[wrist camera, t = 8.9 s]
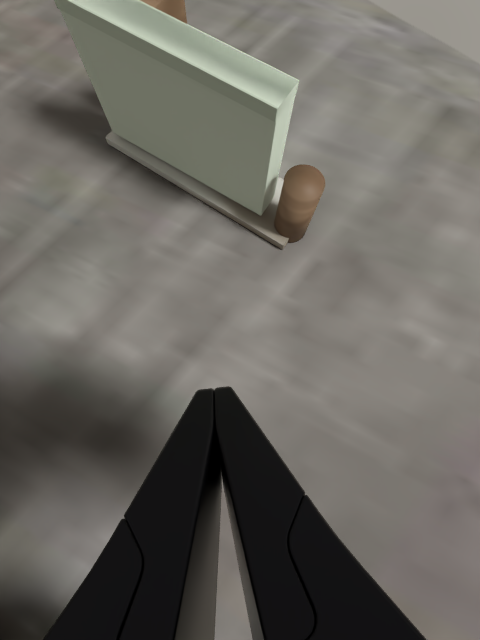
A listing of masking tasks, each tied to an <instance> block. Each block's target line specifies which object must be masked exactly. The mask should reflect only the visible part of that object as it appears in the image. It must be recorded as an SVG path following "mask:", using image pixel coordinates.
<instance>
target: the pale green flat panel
mask: <svg viewBox="0 0 480 640" xmlns="http://www.w3.org/2000/svg"><path fill="white" fill-rule="evenodd" d="M54 1H55V3H56V6H57V8H58V9H60V11H61V13H62V16H63V18H64V20H65V22H66V25H67V27H68V29H69V32H70V34H71V36H72V39H73V41H74V43H75V46H76V48H77V50H78V53H79V55H80V57H81V60H82V62H83V64H84V67H85V69H86V71H87V73H88V76H89V78H90V80H91V83H92V85H93V87H94V90H95V92H96V94H97V97H98V99H99V101H100V104H101V106H102V108H103V111H104V113H105V115H106V118H107V120H108V122H109V124H110V127H111V129H112V131H113V133H115V134H117V135H119V136H121V137H122V138H124V139H126V140H128V141H129V142H131V143H133V144H135V145H136V146H138V147H140V148H142V149H144V150H145V151H147V152H149V153H151V154H152V155H154V156H156V157H158V158H159V159H161V160H163V161H165V162H166V163H168V164H170V165H172V166H174V167H175V168H177V169H179V170H181V171H182V172H184V173H186V174H188V175H189V176H191V177H193V178H195V179H197V180H198V181H200V182H202V183H204V184H205V185H207V186H209V187H211V188H212V189H214V190H216V191H218V192H220V193H221V194H223V195H225V196H227V197H228V198H230V199H232V200H234V201H235V202H237V203H239V204H241V205H242V206H244V207H246V208H248V209H250V210H251V211H253V212H255V213H257V214H258V215H260V216H261V215H262V214H263V212H264V211H265V210H266V208H267V207H268V205H269V204H270V202H271V201H272V200H273V198H274V195H275V190H276V185H277V181H278V176H279V171H280V166H281V161H282V157H283V152H284V147H285V142H286V137H287V133H288V128H289V123H290V118H291V113H292V109H293V104H294V99H295V95H296V93H297V88H298V83H299V80H298V79H296V78H294V77H292V76H290V75H288V74H286V73H284V72H282V71H280V70H278V69H276V68H274V67H272V66H270V65H268V64H266V63H264V62H262V61H260V60H258V59H256V58H254V57H252V56H250V55H248V54H246V53H244V52H242V51H240V50H238V49H236V48H234V47H232V46H230V45H228V44H226V43H224V42H222V41H220V40H218V39H216V38H214V37H212V36H210V35H208V34H206V33H204V32H202V31H200V30H198V29H196V28H194V27H192V26H190V25H188V24H186V23H184V22H182V21H180V20H178V19H176V18H174V17H172V16H170V15H168V14H166V13H164V12H162V11H160V10H158V9H156V8H154V7H152V6H150V5H148V4H146V3H144V2H142V1H140V0H54Z"/></svg>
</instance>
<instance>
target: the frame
mask: <svg viewBox="0 0 480 640" xmlns="http://www.w3.org/2000/svg"><path fill="white" fill-rule="evenodd" d="M140 1H142V2H144V3H146V4H148V5H150V6H152V7H154V8H156V9H158V10H160V11H162V12H164V13H166V14H168V15H170V16H172V17H174V18H176V19H178V20H180V21H182V22H184V23H186V24H187V20H186V11H185V2H184V0H140ZM105 138H106V141H107V143H108V144H109V145H111V146H113V147H114V148H116V149H118V150H119V151H121V152H122V153H124V154H126V155H127V156H129V157H131V158H132V159H134V160H136V161H137V162H139V163H141V164H142V165H144V166H145V167H147V168H149V169H150V170H152V171H154V172H155V173H157V174H159V175H160V176H162V177H164V178H165V179H167V180H168V181H170V182H172V183H173V184H175V185H177V186H178V187H180V188H182V189H183V190H185V191H187V192H188V193H190V194H191V195H193V196H195V197H196V198H198V199H200V200H201V201H203V202H205V203H206V204H208V205H210V206H211V207H213V208H214V209H216V210H218V211H219V212H221V213H223V214H224V215H226V216H228V217H229V218H231V219H233V220H234V221H236V222H237V223H239V224H241V225H242V226H244V227H246V228H247V229H249V230H251V231H252V232H254V233H256V234H257V235H259V236H260V237H262V238H264V239H265V240H267V241H269V242H270V243H272V244H274V245H275V246H277V247H279V248H280V249H282V250H283V248H284V247H285V245H286V244H287V242H288V243H293V242H297V241H299V240H300V239H301V238H302V237H303V236H304V234H305V232H306V230H307V227H308V225H309V223H310V221H311V218H312V216H313V214H314V211H315V209H316V207H317V204H318V202H319V200H320V197H321V195H322V193H323V190H324V188H325V179H324V177H323V175H322V173H321V172H320V171H319V170H318V169H316V168H315V167H313V166H310V165H297V166H294V167H292V168H291V169H289V170H288V171H287V173H286V175H285V178H284V180H283V179H281V178H279V177H278V181H277V185H276V190H275V195H274V198H273V200H272V201H271V202H270V204H269V205H268V207H267V208H266V210H265V211H264V212H263V214H262V215H261V216H260V215H258V214H257V213H255V212H253V211H251V210H250V209H248V208H246V207H244V206H242V205H241V204H239V203H237V202H235V201H234V200H232V199H230V198H228V197H227V196H225V195H223V194H221V193H220V192H218V191H216V190H214V189H212V188H211V187H209V186H207V185H205V184H204V183H202V182H200V181H198V180H197V179H195V178H193V177H191V176H189V175H188V174H186V173H184V172H182V171H181V170H179V169H177V168H175V167H174V166H172V165H170V164H168V163H166V162H165V161H163V160H161V159H159V158H158V157H156V156H154V155H152V154H151V153H149V152H147V151H145V150H144V149H142V148H140V147H138V146H136V145H135V144H133V143H131V142H129V141H128V140H126V139H124V138H122V137H121V136H119V135H117V134H115V133H113V131H111V132H110V133H109V134H108V135H107V136H106V137H105Z"/></svg>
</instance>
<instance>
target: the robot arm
mask: <svg viewBox="0 0 480 640" xmlns="http://www.w3.org/2000/svg"><path fill="white" fill-rule="evenodd" d="M221 472H222V473H221ZM222 479H223V486H224V492H225V497H226V502H227V507H228V513H229V518H230V523H231V528H232V533H233V539H234V544H235V549H236V554H237V560H238V565H239V570H240V575H241V581H242V586H243V591H244V596H245V602H246V607H247V612H248V617H249V622H250V628H251V633H252V638H253V640H426V638H425V637H424V636H423V635H422V634H421V633H420V632H419V630H418V629H417V628H416V627H415V626H414V625H413V624H412V622H411V621H410V620H409V619H408V618H407V617H406V616H405V614H404V613H403V612H402V611H401V610H400V609H399V608H398V606H397V605H396V604H395V603H394V602H393V601H392V600H391V598H390V597H389V596H388V595H387V594H386V593H385V592H384V590H383V589H382V588H381V587H380V586H379V585H378V584H377V582H376V581H375V580H374V579H373V578H372V577H371V576H370V574H369V573H368V572H367V571H366V570H365V569H364V568H363V566H362V565H361V564H360V563H359V562H358V561H357V559H356V558H355V557H354V556H353V555H352V553H351V552H350V551H349V550H348V549H347V547H346V546H345V545H344V544H343V543H342V541H341V540H340V539H339V538H338V536H337V535H336V534H335V532H334V531H333V530H332V528H331V527H330V526H329V524H328V523H327V522H326V520H325V519H324V518H323V516H322V515H321V514H320V512H319V511H318V510H317V508H316V507H315V505H314V504H313V502H312V501H311V500H310V498H309V497H308V496H307V495H305V491H304V490H303V489H302V487H301V486H300V484H299V483H298V481H297V480H296V479H295V477H294V476H293V474H292V473H291V471H290V470H289V469H288V467H287V466H286V464H285V463H284V461H283V460H282V459H281V457H280V456H279V454H278V453H277V451H276V450H275V449H274V447H273V446H272V444H271V443H270V442H269V440H268V439H267V437H266V436H265V434H264V433H263V432H262V430H261V429H260V427H259V426H258V424H257V423H256V422H255V420H254V419H253V417H252V416H251V414H250V413H249V412H248V410H247V409H246V407H245V406H244V404H243V403H242V402H241V400H240V399H239V397H238V396H237V394H236V393H235V392H234V390H233V389H232V388H231V387H219V388H216V389H215V390H213V389H212V388H210V389H201V390H198V391H197V392H196V393H195V395H194V396H193V398H192V400H191V402H190V403H189V405H188V407H187V408H186V410H185V412H184V414H183V415H182V417H181V419H180V420H179V422H178V424H177V426H176V427H175V429H174V431H173V432H172V434H171V436H170V438H169V439H168V441H167V443H166V444H165V446H164V448H163V449H162V451H161V453H160V455H159V456H158V458H157V460H156V461H155V463H154V465H153V467H152V468H151V470H150V472H149V473H148V475H147V477H146V479H145V480H144V482H143V484H142V485H141V487H140V489H139V491H138V492H137V494H136V496H135V497H134V499H133V501H132V503H131V504H130V506H129V508H128V509H127V511H126V513H125V515H124V518H125V519H122V520H121V521H120V523H119V524H118V526H117V528H116V530H115V531H114V533H113V535H112V537H111V538H110V540H109V542H108V543H107V545H106V546H105V548H104V550H103V551H102V553H101V554H100V556H99V558H98V559H97V561H96V563H95V564H94V566H93V567H92V569H91V571H90V572H89V574H88V575H87V577H86V578H85V579H84V581H83V582H82V584H81V585H80V587H79V588H78V590H77V591H76V593H75V594H74V596H73V597H72V599H71V600H70V602H69V603H68V604H67V606H66V607H65V609H64V610H63V612H62V613H61V614H60V616H59V617H58V619H57V620H56V622H55V623H54V624H53V626H52V627H51V629H50V630H49V631H48V633H47V634H46V636H45V637H44V639H43V640H214V634H215V614H216V593H217V573H218V553H219V532H220V512H221V492H222Z"/></svg>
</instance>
